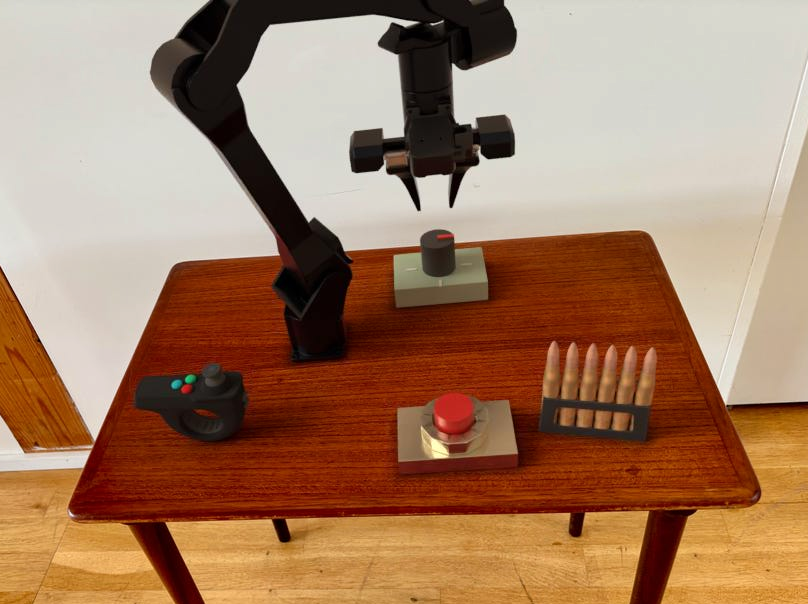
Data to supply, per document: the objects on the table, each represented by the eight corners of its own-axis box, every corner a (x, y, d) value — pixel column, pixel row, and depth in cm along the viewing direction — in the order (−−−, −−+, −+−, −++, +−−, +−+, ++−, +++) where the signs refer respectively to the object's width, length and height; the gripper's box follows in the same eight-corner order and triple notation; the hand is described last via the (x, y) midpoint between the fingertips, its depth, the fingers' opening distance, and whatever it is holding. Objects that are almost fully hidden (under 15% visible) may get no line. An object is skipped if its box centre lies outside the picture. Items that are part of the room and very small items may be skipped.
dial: (423, 278, 93) (420, 247, 89) (421, 259, 96) (419, 228, 93) (456, 275, 92) (455, 244, 89) (454, 256, 95) (452, 225, 92)
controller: (254, 447, 78) (232, 382, 72) (149, 448, 80) (117, 385, 74) (262, 418, 82) (241, 354, 75) (161, 420, 83) (131, 357, 77)
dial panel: (396, 309, 93) (394, 290, 91) (395, 271, 100) (393, 252, 98) (488, 301, 92) (488, 281, 90) (481, 263, 99) (481, 244, 97)
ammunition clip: (645, 428, 74) (663, 341, 66) (646, 441, 72) (664, 355, 64) (539, 418, 76) (544, 334, 68) (538, 431, 75) (543, 346, 67)
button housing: (400, 475, 73) (396, 449, 70) (398, 421, 79) (395, 396, 76) (518, 467, 72) (518, 441, 69) (508, 413, 78) (508, 387, 75)
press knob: (435, 436, 72) (434, 422, 70) (433, 407, 75) (432, 393, 73) (475, 433, 71) (475, 419, 70) (472, 404, 74) (471, 391, 73)
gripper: (338, 123, 72) (358, 251, 83) (523, 103, 71) (520, 236, 81) (343, 81, 81) (360, 203, 91) (509, 62, 79) (507, 188, 89)
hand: (434, 208), depth 88 cm, fingers open, 4 cm apart
